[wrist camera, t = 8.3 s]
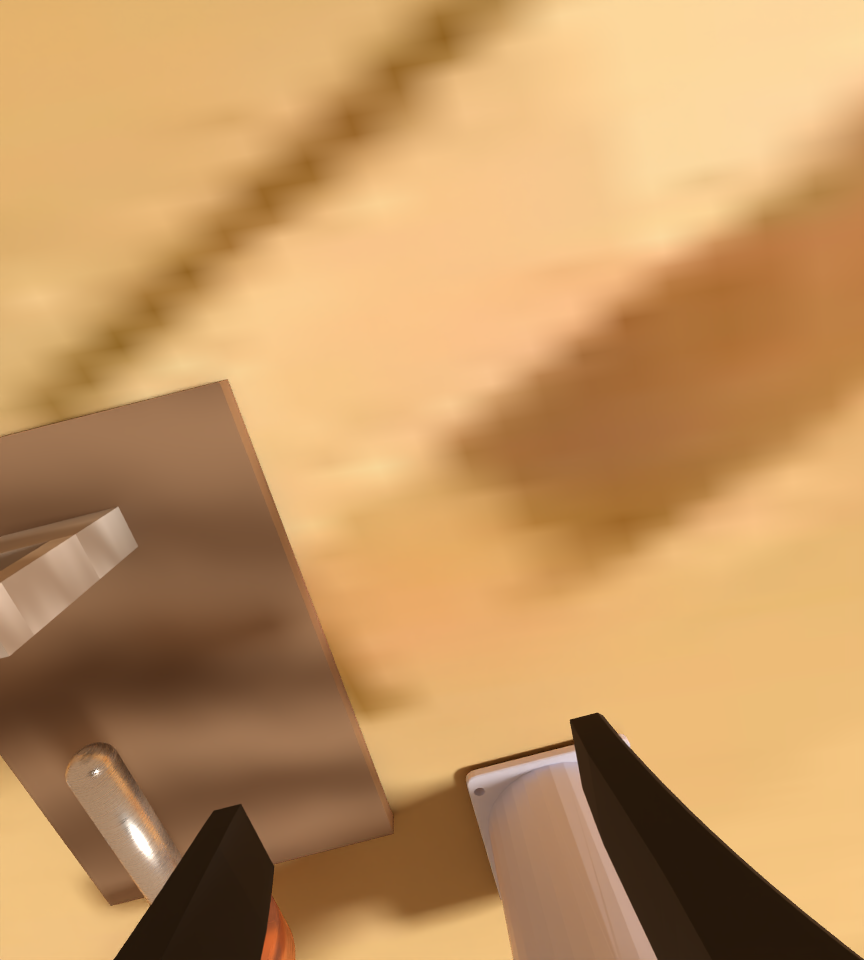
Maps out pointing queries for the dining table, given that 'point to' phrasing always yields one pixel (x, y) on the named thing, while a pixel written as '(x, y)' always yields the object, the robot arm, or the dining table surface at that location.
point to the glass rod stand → (143, 832)
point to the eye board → (170, 635)
